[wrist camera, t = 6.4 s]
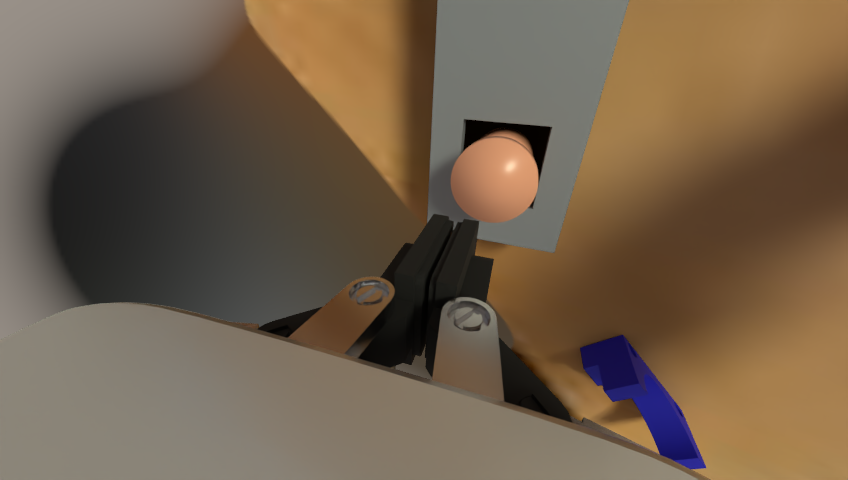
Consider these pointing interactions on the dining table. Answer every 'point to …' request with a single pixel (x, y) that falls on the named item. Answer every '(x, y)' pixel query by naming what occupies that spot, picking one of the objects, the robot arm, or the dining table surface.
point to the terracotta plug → (496, 176)
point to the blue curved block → (642, 397)
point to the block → (520, 95)
